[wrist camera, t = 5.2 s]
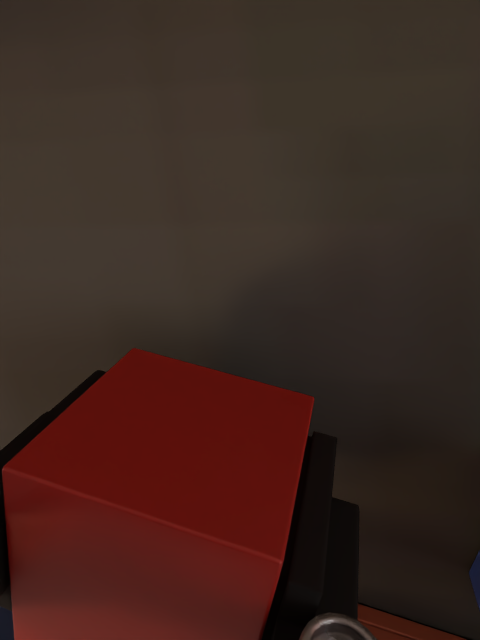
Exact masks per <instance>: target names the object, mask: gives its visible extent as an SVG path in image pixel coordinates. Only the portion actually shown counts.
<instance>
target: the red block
mask: <svg viewBox="0 0 480 640" xmlns="http://www.w3.org/2000/svg"><path fill="white" fill-rule="evenodd" d="M313 404H314V397H312V396H309V395H305V394H302V393H298V392H294V391H291V390H287V389H283V388H280V387H276V386H272V385H269V384H265V383H261V382H258V381H254V380H250V379H247V378H243V377H239V376H236V375H232V374H228V373H224V372H221V371H217V370H213V369H210V368H206V367H202V366H199V365H195V364H191V363H188V362H184V361H180V360H177V359H173V358H169V357H166V356H162V355H158V354H155V353H151V352H147V351H144V350H140V349H136V348H133V349H132V350H130V351H129V352H128V353H127V354H126V355H125V356H124V357H123V358H122V359H121V360H119V361H118V362H117V363H116V364H115V365H114V366H113V367H112V368H111V369H110V370H109V371H107V372H106V373H105V374H104V375H103V376H102V377H101V378H100V379H99V380H98V381H96V382H95V383H94V384H93V385H92V386H91V387H90V388H89V389H88V390H87V391H86V392H84V393H83V394H82V395H81V396H80V397H79V398H78V399H77V400H76V401H75V402H73V403H72V404H71V405H70V406H69V407H68V408H67V409H66V410H65V411H64V412H62V413H61V414H60V415H59V416H58V417H57V418H56V419H55V420H54V421H53V422H52V423H50V424H49V425H48V426H47V427H46V428H45V429H44V430H43V431H42V432H41V433H39V434H38V435H37V436H36V437H35V438H34V439H33V440H32V441H31V442H30V443H29V444H27V445H26V446H25V447H24V448H23V449H22V450H21V451H20V452H19V453H18V454H16V455H15V456H14V457H13V458H12V459H11V460H10V461H9V462H8V463H7V464H6V465H4V467H3V468H2V480H3V493H4V507H5V520H6V534H7V547H8V561H9V574H10V588H11V601H12V615H13V628H14V640H261V639H262V636H263V632H264V629H265V625H266V622H267V618H268V615H269V611H270V608H271V604H272V601H273V597H274V594H275V590H276V587H277V583H278V580H279V576H280V572H281V569H282V565H283V562H284V556H285V551H286V546H287V541H288V535H289V530H290V525H291V520H292V514H293V509H294V504H295V499H296V493H297V488H298V483H299V478H300V472H301V467H302V462H303V457H304V451H305V446H306V441H307V436H308V430H309V425H310V420H311V415H312V409H313Z"/></svg>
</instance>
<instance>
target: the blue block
mask: <svg viewBox="0 0 480 640" xmlns="http://www.w3.org/2000/svg"><path fill="white" fill-rule="evenodd" d="M469 576H470V579H471V583H472V586H473V590H474V593H475V597H476V600H477V604H478V607H479V611H480V550H479V552H478V554H477V556H476V558H475V560H474V562H473V565H472V567H471V569H470V571H469Z"/></svg>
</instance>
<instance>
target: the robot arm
mask: <svg viewBox="0 0 480 640" xmlns="http://www.w3.org/2000/svg"><path fill="white" fill-rule="evenodd" d="M105 373H106V372H104V371H101V370H97V371H96V372H94V373H93V374H92V375H91V376H90V377H88V378H87V379H86V380H85V381H84V382H83V383H82V384H80V385H79V386H78V387H77V388H76V389H75V390H74V391H72V392H71V393H70V394H69V395H68V396H67V397H65V398H64V399H63V400H62V401H61V402H60V403H59V404H57V405H56V406H55V407H54V408H53V409H52V410H51V411H49V412H46V413H44V414H43V415H41V416H40V417H39V418H38V419H37V420H36V421H34V422H33V423H32V424H31V425H30V426H29V427H27V428H26V429H25V430H24V431H23V432H22V433H21V434H19V435H18V436H17V437H16V438H15V439H14V440H12V441H11V442H10V443H9V444H8V445H7V446H5V447H4V448H3V449H2V450H1V451H0V607H3V608H5V609H8V610H10V611H12V601H11V588H10V574H9V561H8V547H7V534H6V520H5V507H4V493H3V480H2V468H3V467H4V465H6V464H7V463H8V462H9V461H10V460H11V459H12V458H13V457H14V456H15V455H16V454H18V453H19V452H20V451H21V450H22V449H23V448H24V447H25V446H26V445H27V444H29V443H30V442H31V441H32V440H33V439H34V438H35V437H36V436H37V435H38V434H39V433H41V432H42V431H43V430H44V429H45V428H46V427H47V426H48V425H49V424H50V423H52V422H53V421H54V420H55V419H56V418H57V417H58V416H59V415H60V414H61V413H62V412H64V411H65V410H66V409H67V408H68V407H69V406H70V405H71V404H72V403H73V402H75V401H76V400H77V399H78V398H79V397H80V396H81V395H82V394H83V393H84V392H86V391H87V390H88V389H89V388H90V387H91V386H92V385H93V384H94V383H95V382H96V381H98V380H99V379H100V378H101V377H102V376H103V375H104V374H105ZM336 444H337V438H336V437H332V436H329V435H325V434H322V433H318V432H315V431H314V432H313V435H312V437H309V436H307V441H306V446H305V451H304V457H303V462H302V467H301V472H300V478H299V483H298V488H297V493H296V499H295V504H294V509H293V514H292V520H291V525H290V530H289V535H288V541H287V546H286V551H285V556H284V562H283V565H282V569H281V572H280V576H279V580H278V583H277V587H276V590H275V594H274V597H273V601H272V604H271V608H270V611H269V615H268V618H267V622H266V625H265V629H264V632H263V636H262V639H261V640H377V639H376V637H375V636H374V635H373V634H372V633H371V632H370V630H369V629H368V628H366V627H365V626H364V625H362V624H361V623H360V622H358V564H359V507H358V505H356V504H352V503H349V502H346V501H343V500H339V499H336V498H333V497H332V488H333V477H334V466H335V455H336Z"/></svg>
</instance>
